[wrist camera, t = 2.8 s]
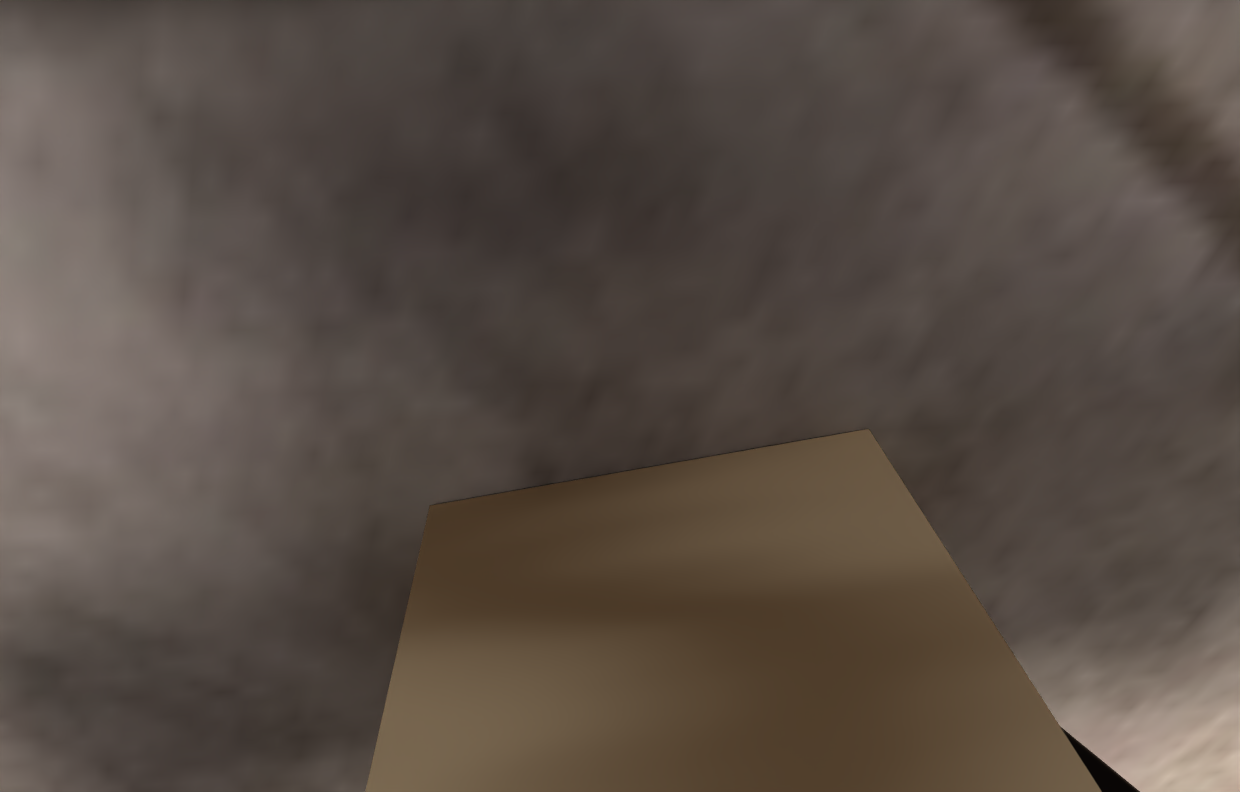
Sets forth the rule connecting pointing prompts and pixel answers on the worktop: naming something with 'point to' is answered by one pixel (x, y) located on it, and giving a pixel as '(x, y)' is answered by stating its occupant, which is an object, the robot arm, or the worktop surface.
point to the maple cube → (708, 641)
